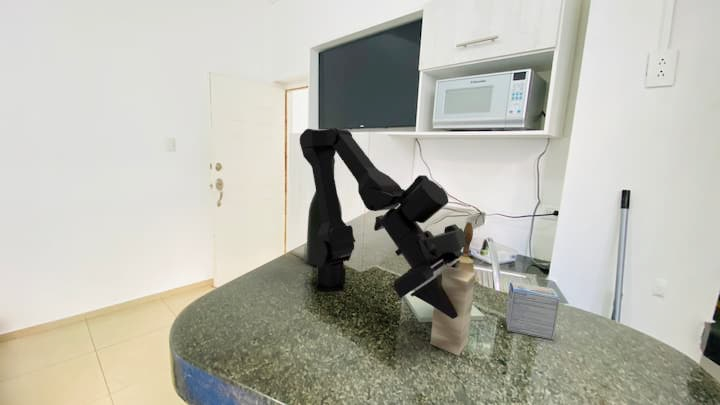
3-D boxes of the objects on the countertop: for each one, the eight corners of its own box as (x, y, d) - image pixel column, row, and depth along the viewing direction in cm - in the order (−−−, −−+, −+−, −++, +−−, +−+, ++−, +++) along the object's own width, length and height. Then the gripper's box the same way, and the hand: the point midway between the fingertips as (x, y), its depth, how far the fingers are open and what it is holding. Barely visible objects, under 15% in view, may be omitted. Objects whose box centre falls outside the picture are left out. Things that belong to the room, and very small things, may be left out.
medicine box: (547, 329, 59) (554, 288, 58) (554, 341, 55) (561, 297, 54) (504, 320, 62) (509, 280, 61) (507, 331, 58) (513, 289, 57)
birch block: (430, 343, 52) (437, 273, 51) (440, 331, 56) (447, 266, 55) (458, 356, 49) (467, 281, 48) (467, 342, 53) (475, 273, 52)
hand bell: (443, 272, 87) (448, 219, 85) (468, 272, 89) (474, 219, 87) (457, 284, 79) (463, 226, 77) (485, 283, 81) (492, 226, 79)
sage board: (419, 322, 59) (419, 317, 59) (402, 295, 71) (402, 291, 71) (484, 320, 61) (484, 315, 61) (456, 294, 73) (457, 290, 73)
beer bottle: (340, 256, 96) (345, 153, 91) (340, 268, 86) (346, 153, 81) (308, 255, 95) (311, 151, 91) (304, 267, 85) (307, 151, 80)
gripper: (416, 217, 44) (485, 312, 39) (457, 206, 59) (511, 273, 54) (370, 256, 50) (425, 342, 45) (418, 236, 65) (463, 300, 60)
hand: (460, 311), depth 51 cm, fingers closed on birch block, 5 cm apart
